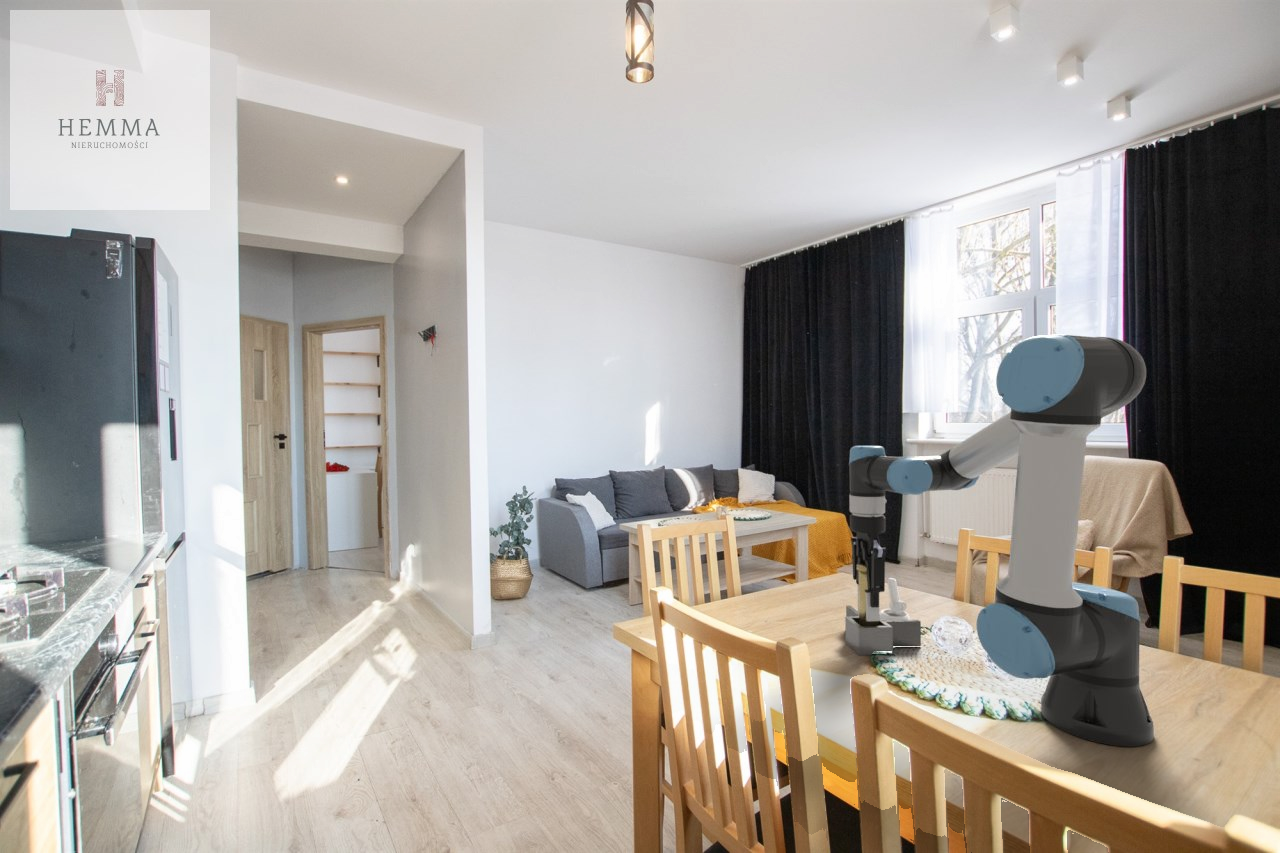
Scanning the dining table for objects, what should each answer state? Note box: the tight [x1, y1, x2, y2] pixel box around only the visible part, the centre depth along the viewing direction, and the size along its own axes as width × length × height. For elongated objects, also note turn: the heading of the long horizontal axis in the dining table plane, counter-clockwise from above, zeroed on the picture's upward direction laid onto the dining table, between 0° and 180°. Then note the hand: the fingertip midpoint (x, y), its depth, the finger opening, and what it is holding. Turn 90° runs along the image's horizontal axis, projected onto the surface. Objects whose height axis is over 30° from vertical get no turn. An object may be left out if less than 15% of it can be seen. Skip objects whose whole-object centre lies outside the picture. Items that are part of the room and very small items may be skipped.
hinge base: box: [844, 605, 922, 656], centre depth 139 cm, size 16×16×6 cm
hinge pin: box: [857, 563, 878, 626], centre depth 135 cm, size 5×5×15 cm
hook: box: [879, 577, 912, 621], centre depth 157 cm, size 8×12×7 cm
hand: (868, 617), depth 135 cm, fingers closed on hinge pin, 4 cm apart
